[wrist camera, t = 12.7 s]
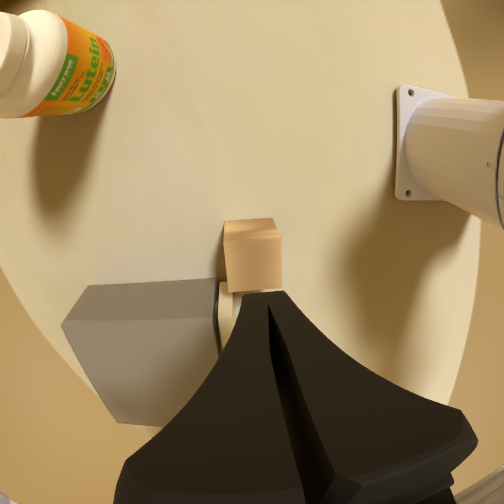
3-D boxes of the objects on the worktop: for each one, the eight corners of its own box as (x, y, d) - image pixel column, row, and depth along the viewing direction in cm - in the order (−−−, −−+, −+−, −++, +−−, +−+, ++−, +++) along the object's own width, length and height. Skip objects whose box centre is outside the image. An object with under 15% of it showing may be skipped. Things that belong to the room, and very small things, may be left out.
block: (272, 218, 19) (280, 239, 15) (273, 260, 20) (281, 287, 17) (224, 221, 18) (223, 243, 15) (228, 263, 20) (228, 292, 17)
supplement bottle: (110, 114, 15) (8, 119, 6) (44, 115, 14) (-62, 132, 5) (126, 34, 13) (42, -22, 4) (57, 42, 12) (-40, 17, 3)
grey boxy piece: (215, 278, 20) (212, 323, 16) (231, 381, 25) (232, 426, 20) (88, 285, 20) (60, 325, 15) (128, 381, 24) (117, 422, 20)
